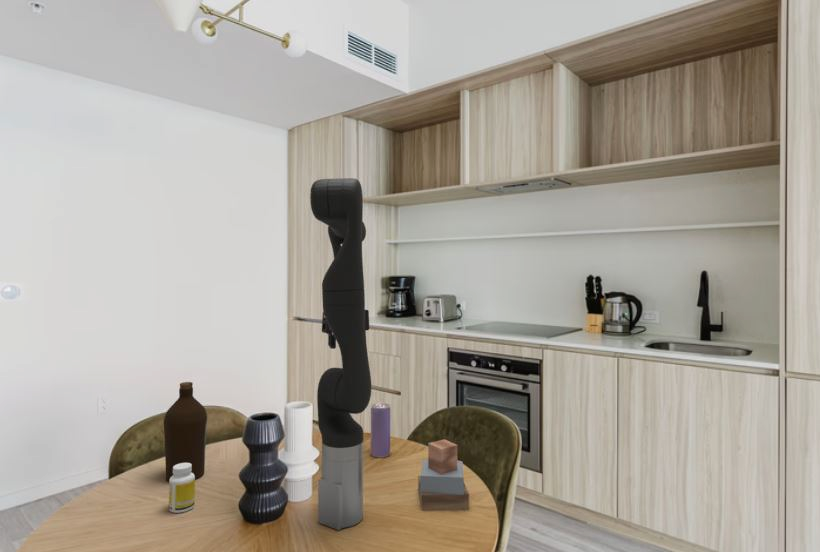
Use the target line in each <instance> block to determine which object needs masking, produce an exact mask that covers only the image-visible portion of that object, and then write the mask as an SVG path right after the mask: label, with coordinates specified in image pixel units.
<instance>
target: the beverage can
mask: <svg viewBox="0 0 820 552" xmlns="http://www.w3.org/2000/svg"><path fill="white" fill-rule="evenodd" d="M390 453H391V404H389V403H386V402H376V403H372V404H371V407H370V454H371V456H372V457H373V458H378V459H379V458H380V459H382V458H386V457H389V455H390Z"/></svg>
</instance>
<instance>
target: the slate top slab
mask: <svg viewBox="0 0 820 552" xmlns="http://www.w3.org/2000/svg"><path fill="white" fill-rule="evenodd" d="M463 463H464V462H463V461H462V460H457V470H455V471H452V472H449V473H445V474H442V475H441V474H439V473H437V472H435V471H433V470H431V469H430V468H428V459H422V465H421V471H420V472H421V473H420V476H421V493H434V494H457V495H464V483H465V478H464V464H463Z"/></svg>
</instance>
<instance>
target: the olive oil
mask: <svg viewBox="0 0 820 552" xmlns="http://www.w3.org/2000/svg"><path fill="white" fill-rule="evenodd" d="M193 385H194V384H193V382H191V381H183V382H180V383H179V388H178V389H179V391H178V393H179V395H178V399H176V401H174V403H173V404H172V405H170V406H169V408H168V409H167V410H166V412H165V414H164V418H163V435H164V437H163V438H164V452H165V453H164V457H165V479H166V481H167V482H169V480H170V478H171V476H173V475H174V474H173V466H175V465H177V464H180V463H191V464H192V471H191V472H192V473H193V474H194V475H195V481H196V480H198V479H200V478H202V476H204V475H205V464H206V463H205V461H206V446H207V445H206V444H207V431H208V430H207V429H208V427H207V426H208V413H207V410H206V409H205V406H204V405H203V404H201V402H199V401H198V400H197V399H196V398H195V397H194V387H193Z"/></svg>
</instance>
